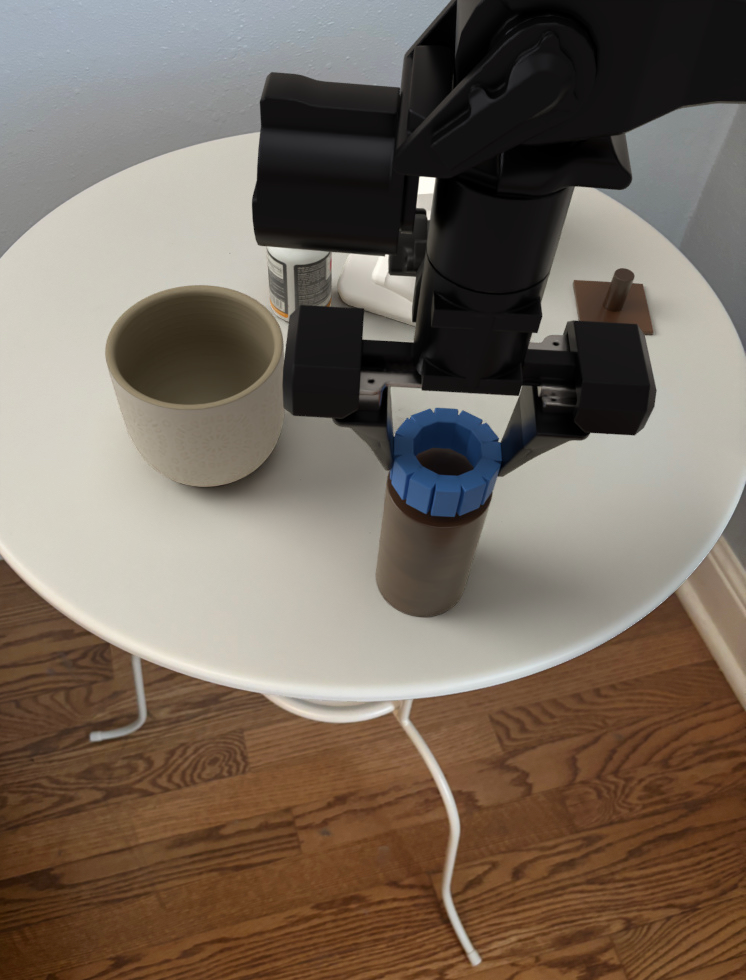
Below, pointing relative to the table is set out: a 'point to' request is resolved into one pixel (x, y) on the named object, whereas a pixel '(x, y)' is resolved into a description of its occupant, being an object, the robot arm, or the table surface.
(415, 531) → the pedestal
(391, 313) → the tape dispenser
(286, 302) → the pill bottle
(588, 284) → the peg stand
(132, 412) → the planter
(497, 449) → the tape roll
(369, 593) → the table surface
